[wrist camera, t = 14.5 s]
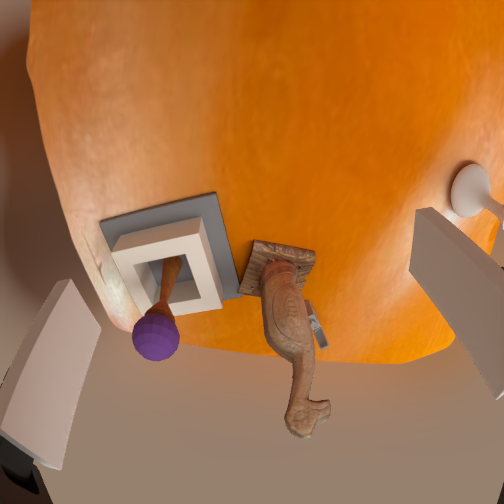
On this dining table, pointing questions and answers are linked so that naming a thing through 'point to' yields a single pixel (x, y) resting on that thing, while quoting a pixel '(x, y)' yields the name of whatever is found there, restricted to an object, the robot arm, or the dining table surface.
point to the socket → (175, 254)
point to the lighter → (316, 326)
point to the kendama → (159, 319)
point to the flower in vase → (474, 193)
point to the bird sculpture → (288, 325)
